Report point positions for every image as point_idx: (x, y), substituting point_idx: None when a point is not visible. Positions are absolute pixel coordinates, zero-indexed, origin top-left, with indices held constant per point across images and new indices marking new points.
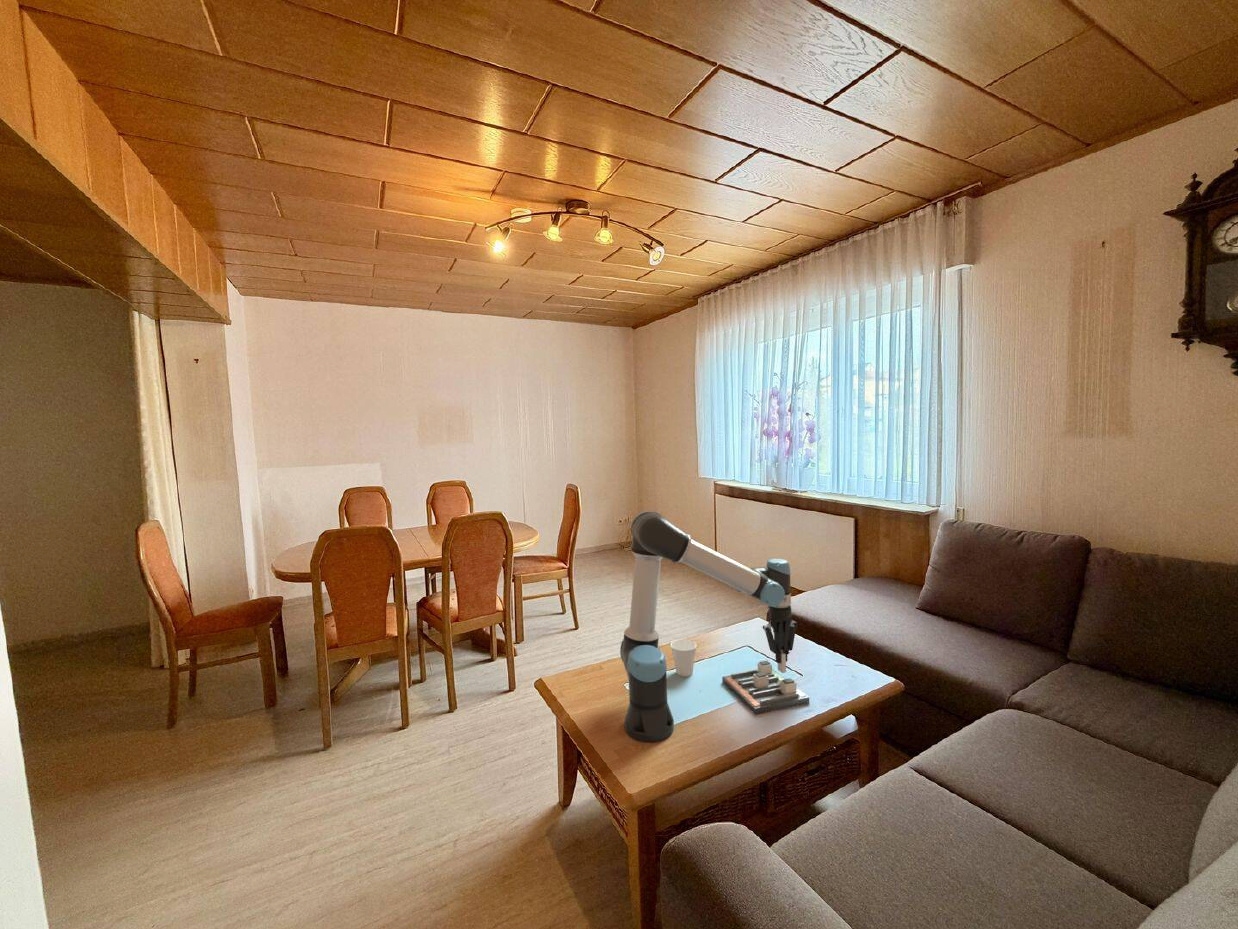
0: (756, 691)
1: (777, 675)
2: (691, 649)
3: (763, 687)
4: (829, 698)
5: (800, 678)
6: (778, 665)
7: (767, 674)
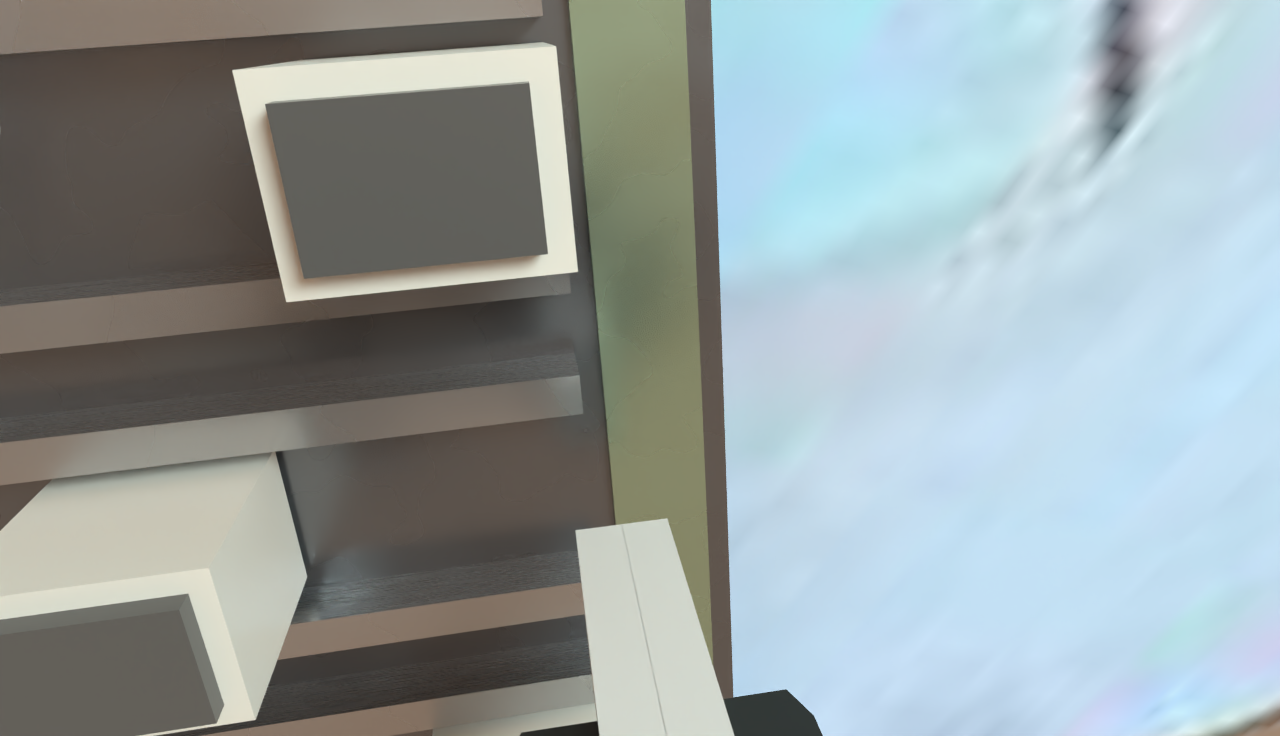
0: None
1: (650, 248)
2: None
3: None
4: (986, 708)
5: (1022, 218)
6: (586, 626)
7: None
